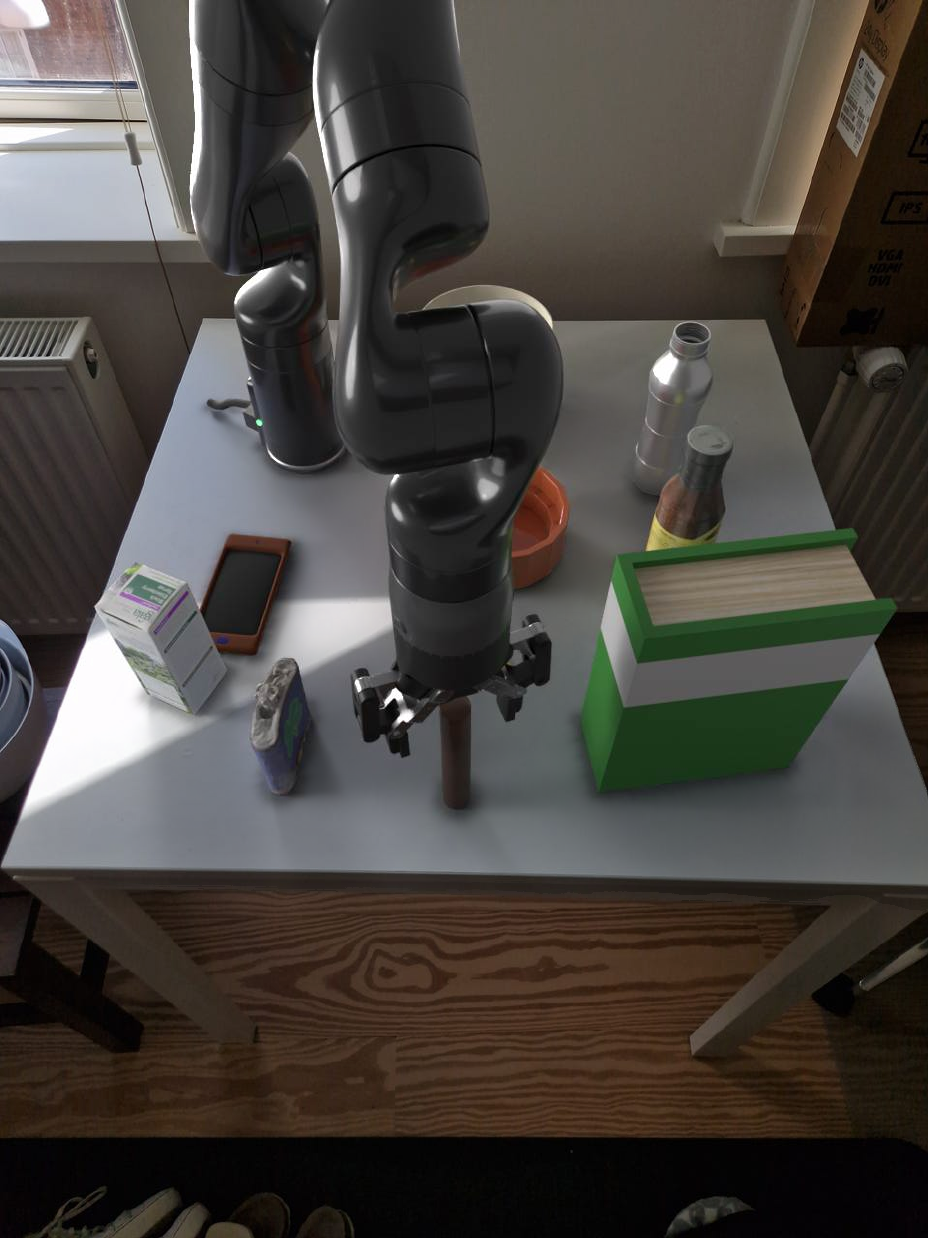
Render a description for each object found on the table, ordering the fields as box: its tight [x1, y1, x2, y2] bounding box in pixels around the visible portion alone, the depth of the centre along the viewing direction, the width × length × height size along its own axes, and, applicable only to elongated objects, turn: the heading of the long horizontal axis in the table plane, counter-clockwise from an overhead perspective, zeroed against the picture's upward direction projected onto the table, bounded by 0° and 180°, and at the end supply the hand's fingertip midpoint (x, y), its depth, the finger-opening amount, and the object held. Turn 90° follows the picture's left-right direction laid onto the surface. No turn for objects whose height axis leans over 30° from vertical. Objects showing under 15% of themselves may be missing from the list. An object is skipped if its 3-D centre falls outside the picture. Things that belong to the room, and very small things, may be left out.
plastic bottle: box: [629, 321, 714, 496], centre depth 90 cm, size 6×7×20 cm
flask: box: [249, 657, 312, 796], centre depth 74 cm, size 9×3×11 cm, turn 173°
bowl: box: [422, 284, 555, 332], centre depth 104 cm, size 16×16×10 cm
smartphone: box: [199, 533, 292, 657], centre depth 88 cm, size 7×1×15 cm
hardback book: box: [579, 527, 898, 794], centre depth 69 cm, size 18×7×24 cm, turn 98°
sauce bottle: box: [645, 425, 734, 551], centre depth 81 cm, size 6×6×20 cm
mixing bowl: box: [512, 465, 571, 590], centre depth 91 cm, size 14×14×6 cm
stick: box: [438, 696, 473, 811], centre depth 69 cm, size 2×2×16 cm
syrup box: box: [94, 561, 227, 716], centre depth 77 cm, size 6×6×14 cm
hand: (453, 729), depth 66 cm, fingers open, 8 cm apart
